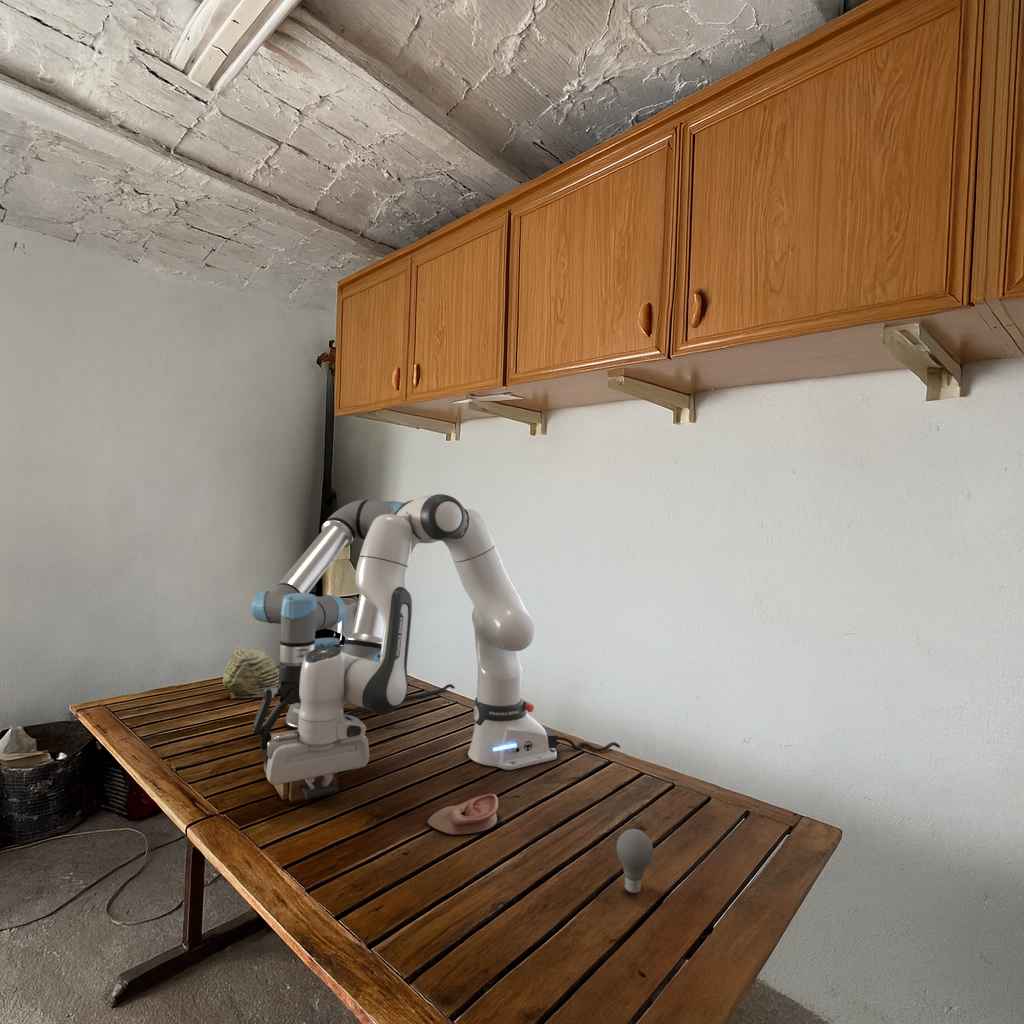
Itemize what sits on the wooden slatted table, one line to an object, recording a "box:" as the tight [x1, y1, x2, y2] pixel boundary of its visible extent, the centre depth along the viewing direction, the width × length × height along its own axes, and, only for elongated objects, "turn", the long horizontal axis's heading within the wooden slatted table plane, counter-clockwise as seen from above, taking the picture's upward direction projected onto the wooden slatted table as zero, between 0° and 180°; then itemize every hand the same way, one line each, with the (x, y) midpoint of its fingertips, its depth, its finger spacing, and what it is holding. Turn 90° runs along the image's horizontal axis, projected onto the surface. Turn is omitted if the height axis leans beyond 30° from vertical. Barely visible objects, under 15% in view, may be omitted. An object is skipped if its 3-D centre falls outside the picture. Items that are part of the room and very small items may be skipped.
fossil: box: [222, 646, 279, 699], centre depth 198 cm, size 9×18×15 cm, turn 132°
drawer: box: [288, 772, 339, 802], centre depth 136 cm, size 20×10×6 cm, turn 34°
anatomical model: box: [427, 793, 499, 836], centre depth 126 cm, size 13×4×12 cm
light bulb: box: [615, 828, 654, 894], centre depth 106 cm, size 6×6×10 cm
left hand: (293, 757), depth 145 cm, fingers closed on cabinet, 11 cm apart
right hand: (318, 795), depth 129 cm, fingers closed, pressing on drawer
